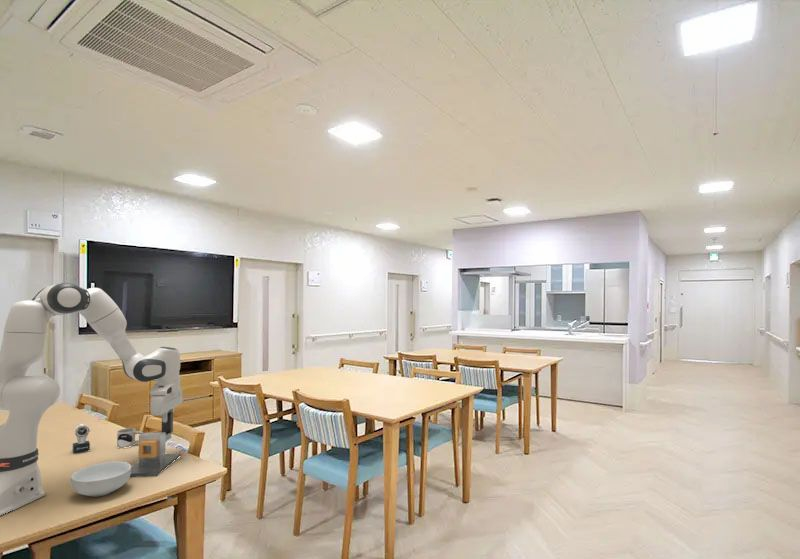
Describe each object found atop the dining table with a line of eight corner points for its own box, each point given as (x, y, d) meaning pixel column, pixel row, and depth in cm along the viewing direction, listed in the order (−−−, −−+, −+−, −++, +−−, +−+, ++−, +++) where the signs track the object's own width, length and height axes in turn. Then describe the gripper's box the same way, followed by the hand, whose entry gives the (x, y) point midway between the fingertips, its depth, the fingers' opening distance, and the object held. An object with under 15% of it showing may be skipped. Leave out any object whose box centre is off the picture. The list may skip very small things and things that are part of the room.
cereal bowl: (56, 501, 144) (57, 478, 145) (98, 480, 161) (98, 460, 161) (105, 504, 142) (105, 481, 142) (142, 482, 159) (142, 462, 159)
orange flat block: (154, 457, 169) (154, 442, 169) (138, 457, 169) (139, 442, 169) (156, 455, 171) (157, 440, 171) (141, 455, 171) (142, 440, 171)
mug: (115, 449, 193) (115, 433, 193) (119, 444, 199) (119, 429, 200) (141, 446, 196) (141, 431, 196) (145, 442, 202) (145, 427, 203)
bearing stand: (156, 476, 164) (156, 441, 164) (122, 477, 163) (122, 441, 164) (180, 456, 184) (181, 425, 184) (150, 457, 183) (151, 425, 184)
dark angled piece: (153, 451, 170) (153, 423, 170) (143, 451, 170) (143, 423, 170) (172, 437, 186) (173, 412, 186) (163, 437, 186) (164, 412, 186)
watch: (74, 454, 186) (74, 427, 187) (72, 449, 192) (72, 423, 193) (90, 451, 190) (91, 425, 190) (88, 446, 196) (88, 421, 196)
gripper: (171, 381, 196) (171, 414, 195) (147, 391, 175) (146, 428, 175) (186, 381, 196) (186, 413, 196) (164, 391, 176) (163, 427, 175)
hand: (167, 420), depth 185 cm, fingers closed on dark angled piece, 2 cm apart
